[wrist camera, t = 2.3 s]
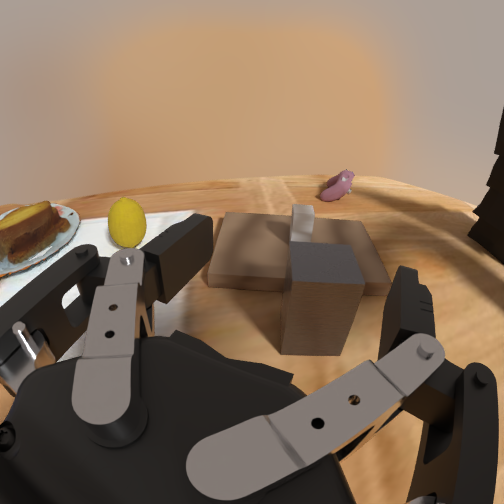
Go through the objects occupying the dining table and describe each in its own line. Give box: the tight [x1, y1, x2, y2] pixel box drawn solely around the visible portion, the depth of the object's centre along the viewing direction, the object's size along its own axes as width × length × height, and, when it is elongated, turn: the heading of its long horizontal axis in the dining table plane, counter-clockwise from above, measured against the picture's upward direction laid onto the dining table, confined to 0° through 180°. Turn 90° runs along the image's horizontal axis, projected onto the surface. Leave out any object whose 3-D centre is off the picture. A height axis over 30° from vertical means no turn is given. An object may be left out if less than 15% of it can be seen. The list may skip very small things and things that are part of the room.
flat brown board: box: [207, 204, 392, 296], centre depth 40 cm, size 22×16×7 cm
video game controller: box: [320, 169, 355, 201], centre depth 60 cm, size 10×5×7 cm, turn 157°
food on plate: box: [0, 201, 81, 277], centre depth 40 cm, size 25×25×7 cm
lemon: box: [108, 197, 146, 248], centre depth 40 cm, size 6×6×8 cm
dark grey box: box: [280, 241, 365, 356], centre depth 27 cm, size 6×6×9 cm
